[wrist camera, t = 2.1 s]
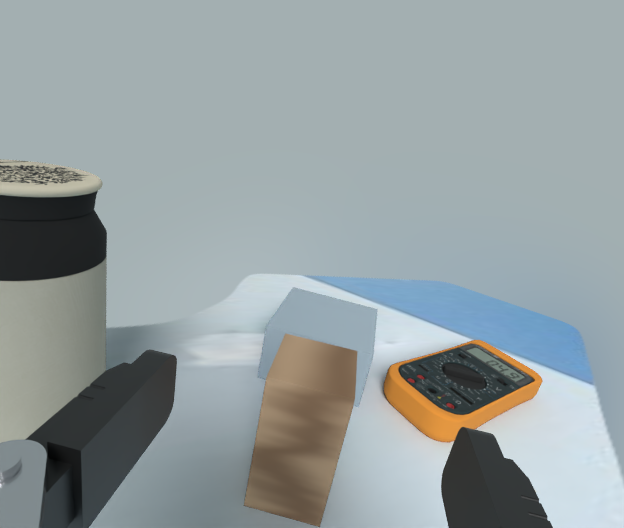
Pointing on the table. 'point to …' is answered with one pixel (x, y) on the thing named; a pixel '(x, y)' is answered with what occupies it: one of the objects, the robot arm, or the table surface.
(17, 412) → the travel mug
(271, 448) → the walnut block
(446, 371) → the multimeter
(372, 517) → the table surface
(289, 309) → the slate box
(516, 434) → the table surface
